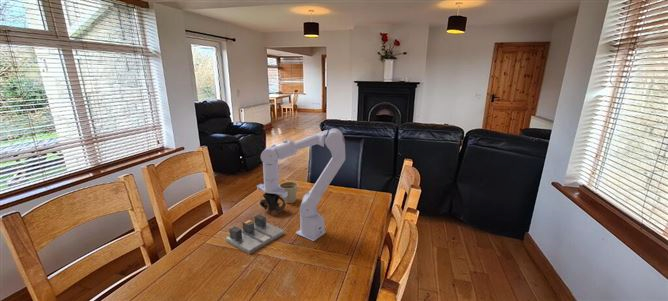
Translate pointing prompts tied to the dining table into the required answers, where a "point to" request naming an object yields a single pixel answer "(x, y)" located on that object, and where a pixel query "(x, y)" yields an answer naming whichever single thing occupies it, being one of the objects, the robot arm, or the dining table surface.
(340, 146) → the robot arm
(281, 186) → the flower pot
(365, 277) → the dining table surface
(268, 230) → the panel
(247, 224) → the breaker
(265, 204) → the pottery mug
